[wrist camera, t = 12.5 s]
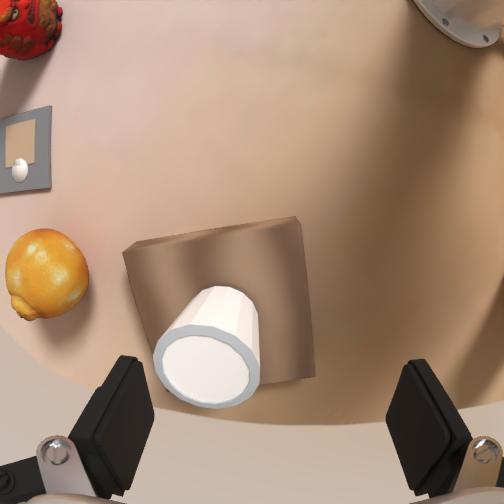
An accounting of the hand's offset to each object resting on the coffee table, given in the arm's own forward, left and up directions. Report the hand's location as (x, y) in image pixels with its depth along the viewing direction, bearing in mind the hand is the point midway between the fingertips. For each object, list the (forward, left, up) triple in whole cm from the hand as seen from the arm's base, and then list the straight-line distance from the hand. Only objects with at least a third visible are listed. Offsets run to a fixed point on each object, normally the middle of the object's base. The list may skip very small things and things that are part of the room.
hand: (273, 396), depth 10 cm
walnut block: (+3, +5, -19) cm, 19 cm away
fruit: (+19, +1, -18) cm, 26 cm away
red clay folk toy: (+23, -23, -18) cm, 37 cm away
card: (+24, -10, -18) cm, 32 cm away
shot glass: (+3, +4, -15) cm, 15 cm away
